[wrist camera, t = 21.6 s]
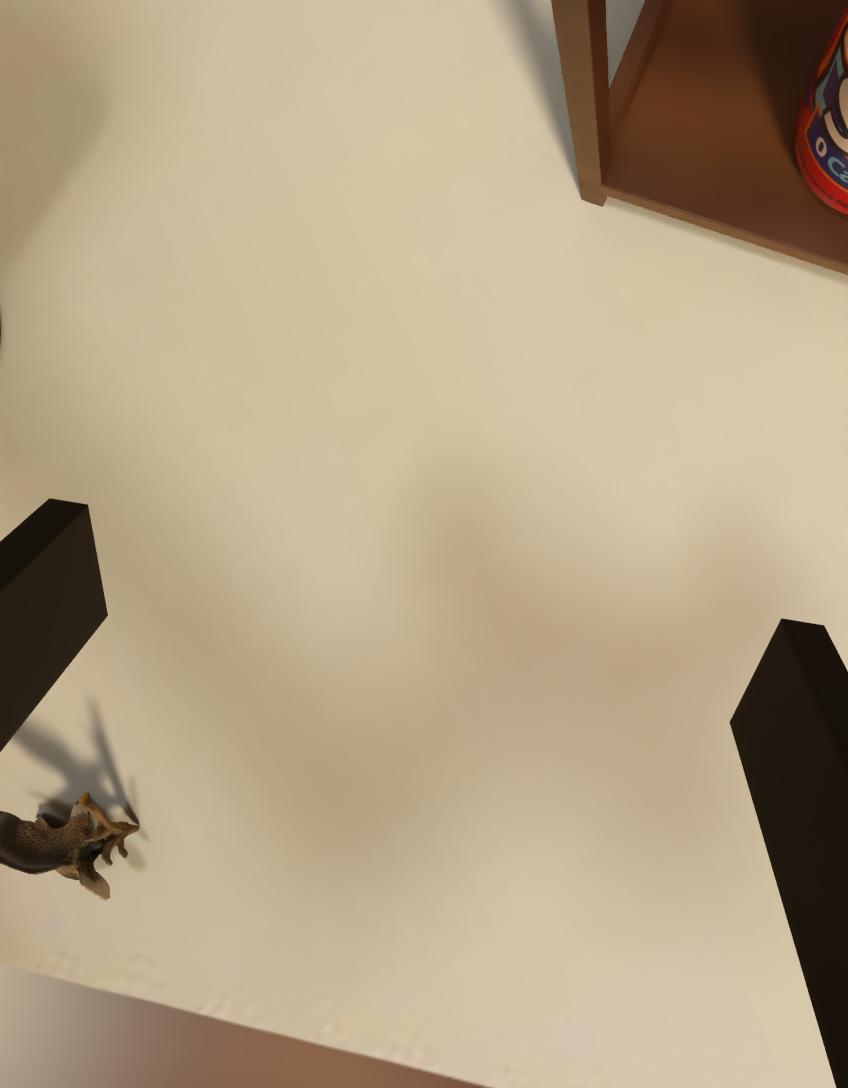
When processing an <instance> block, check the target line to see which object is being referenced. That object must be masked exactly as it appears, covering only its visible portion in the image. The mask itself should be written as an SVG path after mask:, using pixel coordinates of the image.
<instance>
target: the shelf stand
mask: <svg viewBox="0 0 848 1088" xmlns="http://www.w3.org/2000/svg"><path fill="white" fill-rule="evenodd" d="M551 3H552V10H553V16H554V23H555V29H556V36H557V42H558V49H559V55H560V62H561V68H562V74H563V81H564V87H565V94H566V100H567V107H568V113H569V120H570V126H571V133H572V139H573V146H574V152H575V158H576V165H577V171H578V178H579V184H580V191H581V197H582V200H585V201H588V202H591V203H594V204H597V205H600V206H603V205H604V203H605V201H606V198H607V196H609V197H612V198H616V199H619V200H622V201H625V202H628V203H631V204H634V205H637V206H640V207H643V208H646V209H649V210H652V211H655V212H658V213H661V214H664V215H667V216H670V217H673V218H676V219H679V220H682V221H685V222H688V223H692V224H695V225H698V226H701V227H704V228H707V229H710V230H713V231H716V232H719V233H722V234H725V235H728V236H731V237H734V238H737V239H740V240H743V241H746V242H749V243H752V244H755V245H758V246H761V247H764V248H767V249H771V250H774V251H777V252H780V253H783V254H786V255H789V256H792V257H795V258H798V259H801V260H804V261H807V262H810V263H813V264H816V265H819V266H822V267H825V268H828V269H831V270H834V271H837V272H840V273H843V274H847V275H848V214H845V213H843V212H840V211H838V210H836V209H834V208H833V207H831V206H830V205H828V204H827V203H825V202H824V201H823V200H822V199H820V198H819V197H818V196H817V195H816V194H815V193H814V192H813V190H812V189H811V188H810V187H809V185H808V184H807V182H806V181H805V179H804V177H803V175H802V173H801V171H800V168H799V165H798V162H797V158H796V153H795V143H794V135H795V125H796V120H797V115H798V111H799V107H800V104H801V101H802V99H803V96H804V94H805V92H806V90H807V87H808V85H809V83H810V81H811V79H812V77H813V75H814V73H815V71H816V69H817V67H818V65H819V63H820V60H821V58H822V56H823V54H824V52H825V50H826V48H827V46H828V44H829V42H830V40H831V38H832V36H833V34H834V32H835V30H836V28H837V26H838V24H839V21H840V19H841V17H842V15H843V13H844V11H845V9H846V7H847V5H848V0H645V3H644V5H643V8H642V10H641V13H640V15H639V18H638V20H637V23H636V25H635V27H634V30H633V32H632V35H631V37H630V40H629V42H628V45H627V47H626V50H625V52H624V54H623V57H622V59H621V62H620V64H619V67H618V69H617V72H616V74H615V77H614V79H613V82H612V84H611V86H610V89H609V83H608V56H607V30H606V3H605V0H551Z"/></svg>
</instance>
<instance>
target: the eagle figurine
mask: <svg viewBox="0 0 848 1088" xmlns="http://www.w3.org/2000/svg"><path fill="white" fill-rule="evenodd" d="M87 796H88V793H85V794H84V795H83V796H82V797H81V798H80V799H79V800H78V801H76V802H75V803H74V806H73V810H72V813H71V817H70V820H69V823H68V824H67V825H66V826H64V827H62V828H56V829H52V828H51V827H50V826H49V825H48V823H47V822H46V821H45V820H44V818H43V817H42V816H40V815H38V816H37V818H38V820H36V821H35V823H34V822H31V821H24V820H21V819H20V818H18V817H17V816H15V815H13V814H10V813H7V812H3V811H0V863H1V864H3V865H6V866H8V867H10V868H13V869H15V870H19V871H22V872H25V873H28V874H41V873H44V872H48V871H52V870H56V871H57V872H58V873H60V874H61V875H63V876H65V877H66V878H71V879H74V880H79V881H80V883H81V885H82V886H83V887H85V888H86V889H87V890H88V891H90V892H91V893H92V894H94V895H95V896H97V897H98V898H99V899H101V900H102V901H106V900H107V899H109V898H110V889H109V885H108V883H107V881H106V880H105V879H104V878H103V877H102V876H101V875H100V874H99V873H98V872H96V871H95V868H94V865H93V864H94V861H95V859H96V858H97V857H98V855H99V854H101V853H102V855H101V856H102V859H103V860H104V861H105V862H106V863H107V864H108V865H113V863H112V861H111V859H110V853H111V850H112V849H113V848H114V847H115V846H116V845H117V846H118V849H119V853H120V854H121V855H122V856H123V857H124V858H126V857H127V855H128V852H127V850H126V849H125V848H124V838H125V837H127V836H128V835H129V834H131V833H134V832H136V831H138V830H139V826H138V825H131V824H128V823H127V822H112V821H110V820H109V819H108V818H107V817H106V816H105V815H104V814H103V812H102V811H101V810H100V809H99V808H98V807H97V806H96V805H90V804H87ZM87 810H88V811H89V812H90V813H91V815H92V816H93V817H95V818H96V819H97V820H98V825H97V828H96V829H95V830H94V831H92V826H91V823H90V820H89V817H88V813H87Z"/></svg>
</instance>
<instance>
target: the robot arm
mask: <svg viewBox="0 0 848 1088" xmlns="http://www.w3.org/2000/svg"><path fill="white" fill-rule="evenodd" d="M0 335H1V334H0ZM107 616H108V613H107V608H106V602H105V597H104V591H103V586H102V580H101V575H100V569H99V564H98V558H97V552H96V547H95V541H94V536H93V530H92V525H91V519H90V514H89V508H88V505H87V504H81V503H75V502H68V501H62V500H56V499H50V498H49V499H48V500H47V501H46V502H45V503H44V504H42V505H41V506H40V507H39V508H38V509H37V510H36V511H35V512H33V513H32V514H31V515H30V516H29V517H28V518H27V519H25V520H24V521H23V522H22V523H21V524H20V525H19V526H17V527H16V528H15V529H14V530H13V531H12V532H11V533H10V534H8V535H7V536H6V537H5V538H4V539H3V540H2V541H0V752H1V751H2V749H3V748H4V747H5V745H6V744H7V743H8V742H9V740H10V739H11V738H12V737H13V735H14V734H15V733H16V731H17V730H18V729H19V728H20V726H21V725H22V724H23V723H24V721H25V720H26V719H27V717H28V716H29V715H30V714H31V712H32V711H33V710H34V709H35V707H36V706H37V705H38V704H39V702H40V701H41V700H42V698H43V697H44V696H45V695H46V693H47V692H48V691H49V690H50V688H51V687H52V686H53V684H54V683H55V682H56V681H57V679H58V678H59V677H60V676H61V674H62V673H63V672H64V670H65V669H66V668H67V667H68V665H69V664H70V663H71V662H72V660H73V659H74V658H75V656H76V655H77V654H78V653H79V651H80V650H81V649H82V648H83V646H84V645H85V644H86V643H87V641H88V640H89V639H90V637H91V636H92V635H93V634H94V632H95V631H96V630H97V629H98V627H99V626H100V625H101V623H102V622H103V621H104V620H105V618H106V617H107ZM730 725H731V728H732V732H733V735H734V739H735V742H736V745H737V749H738V752H739V756H740V759H741V763H742V766H743V769H744V773H745V776H746V780H747V783H748V787H749V790H750V793H751V797H752V800H753V804H754V807H755V811H756V814H757V817H758V821H759V824H760V828H761V831H762V834H763V838H764V841H765V845H766V848H767V852H768V855H769V858H770V862H771V865H772V869H773V872H774V876H775V879H776V882H777V886H778V889H779V893H780V896H781V900H782V903H783V906H784V910H785V913H786V917H787V920H788V923H789V927H790V930H791V934H792V937H793V941H794V944H795V947H796V951H797V954H798V958H799V961H800V965H801V968H802V971H803V975H804V978H805V982H806V985H807V989H808V992H809V995H810V999H811V1002H812V1006H813V1009H814V1012H815V1016H816V1019H817V1023H818V1026H819V1030H820V1033H821V1036H822V1040H823V1043H824V1047H825V1050H826V1054H827V1057H828V1060H829V1064H830V1067H831V1071H832V1074H833V1078H834V1081H835V1084H836V1088H848V671H847V669H846V667H845V665H844V663H843V661H842V660H841V658H840V656H839V654H838V652H837V650H836V648H835V646H834V644H833V642H832V640H831V638H830V636H829V634H828V632H827V630H826V628H825V626H824V625H818V624H812V623H806V622H800V621H794V620H787V619H781V620H780V622H779V624H778V626H777V628H776V630H775V632H774V634H773V636H772V638H771V640H770V642H769V644H768V646H767V648H766V650H765V653H764V655H763V657H762V659H761V661H760V663H759V665H758V667H757V669H756V671H755V673H754V675H753V677H752V679H751V681H750V683H749V685H748V687H747V689H746V691H745V693H744V695H743V697H742V699H741V701H740V703H739V705H738V707H737V709H736V711H735V713H734V715H733V717H732V719H731V721H730Z"/></svg>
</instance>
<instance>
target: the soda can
mask: <svg viewBox="0 0 848 1088" xmlns="http://www.w3.org/2000/svg"><path fill="white" fill-rule="evenodd" d="M794 143H795V153H796V158H797V162H798V165H799V168H800V171H801V173H802V175H803V177H804V179H805V181H806V182H807V184H808V185H809V187H810V188H811V189H812V190H813V192H814V193H815V194H816V195H817V196H818V197H819V198H820V199H822V200H823V201H824V202H825V203H827V204H828V205H830V206H831V207H833V208H834V209H836V210H838V211H840V212H843V213H845V214H848V5H847V7H846V9H845V11H844V13H843V15H842V17H841V19H840V21H839V24H838V26H837V28H836V30H835V32H834V34H833V36H832V38H831V40H830V42H829V44H828V46H827V48H826V50H825V52H824V54H823V56H822V58H821V60H820V63H819V65H818V67H817V69H816V71H815V73H814V75H813V77H812V79H811V81H810V83H809V85H808V87H807V90H806V92H805V94H804V96H803V99H802V101H801V104H800V107H799V111H798V115H797V120H796V125H795V135H794Z"/></svg>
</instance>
